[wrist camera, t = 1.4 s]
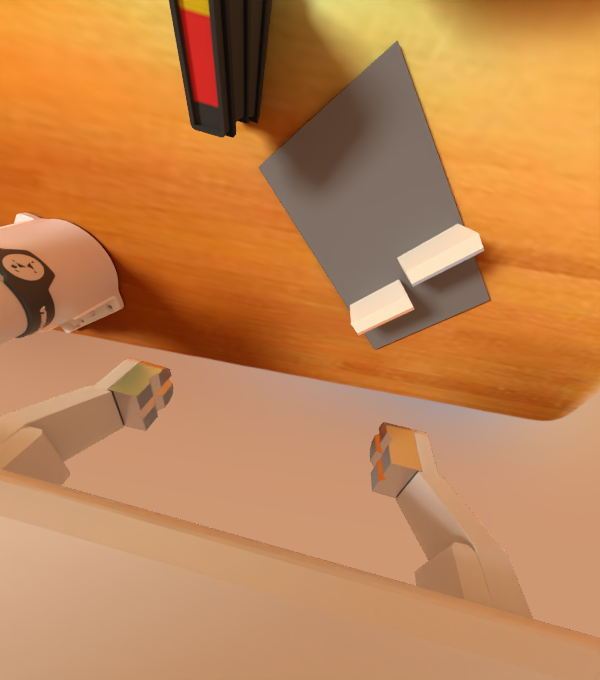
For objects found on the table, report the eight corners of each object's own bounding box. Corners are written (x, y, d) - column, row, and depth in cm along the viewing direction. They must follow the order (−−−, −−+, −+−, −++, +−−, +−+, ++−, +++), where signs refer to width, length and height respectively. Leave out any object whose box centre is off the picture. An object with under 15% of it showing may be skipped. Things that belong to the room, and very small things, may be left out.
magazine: (282, -97, 21) (210, -102, 14) (272, 105, 33) (230, 164, 25) (237, -111, 21) (141, -123, 14) (243, 97, 33) (192, 153, 25)
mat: (374, 347, 45) (374, 349, 45) (259, 167, 33) (258, 167, 33) (488, 298, 38) (490, 299, 38) (396, 42, 26) (397, 40, 25)
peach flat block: (356, 315, 42) (358, 335, 37) (349, 305, 41) (351, 323, 36) (405, 291, 39) (414, 309, 34) (398, 279, 38) (407, 295, 33)
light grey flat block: (403, 270, 37) (413, 286, 32) (396, 257, 36) (405, 271, 31) (463, 238, 34) (484, 250, 29) (457, 223, 33) (478, 233, 28)
